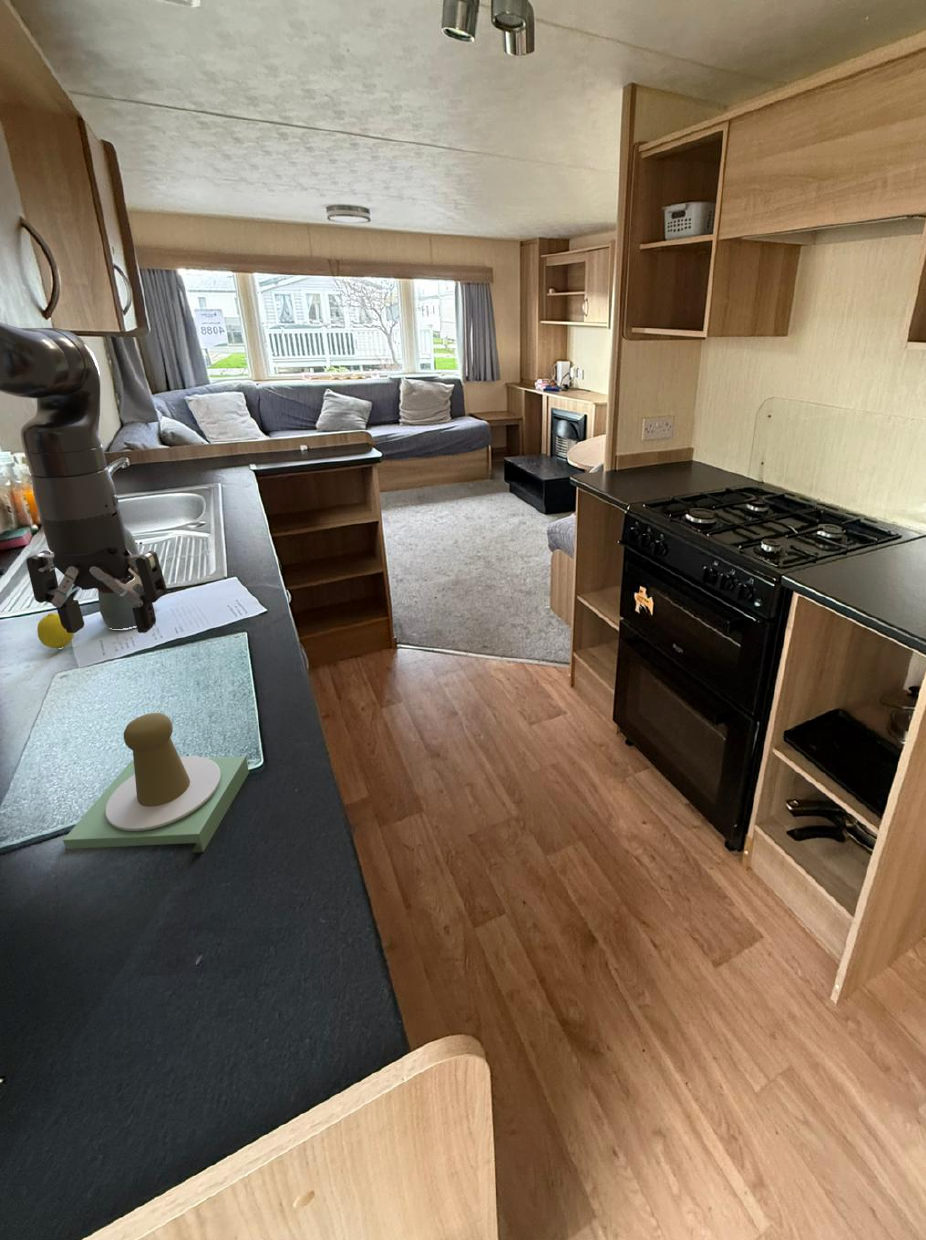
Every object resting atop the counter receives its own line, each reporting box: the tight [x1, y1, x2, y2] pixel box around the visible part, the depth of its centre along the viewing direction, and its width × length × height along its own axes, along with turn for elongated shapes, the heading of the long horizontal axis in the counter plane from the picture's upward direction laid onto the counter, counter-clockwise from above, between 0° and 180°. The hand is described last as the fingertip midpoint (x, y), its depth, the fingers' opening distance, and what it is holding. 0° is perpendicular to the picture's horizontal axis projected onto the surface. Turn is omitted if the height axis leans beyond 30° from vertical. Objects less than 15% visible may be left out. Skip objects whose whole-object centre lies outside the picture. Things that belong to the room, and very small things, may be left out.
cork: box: [123, 712, 190, 807], centre depth 77 cm, size 6×6×11 cm
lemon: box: [36, 612, 75, 649], centre depth 118 cm, size 6×6×8 cm
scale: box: [62, 755, 250, 854], centre depth 79 cm, size 16×14×4 cm
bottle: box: [97, 526, 140, 629], centre depth 125 cm, size 9×9×30 cm
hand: (111, 630), depth 75 cm, fingers open, 8 cm apart
